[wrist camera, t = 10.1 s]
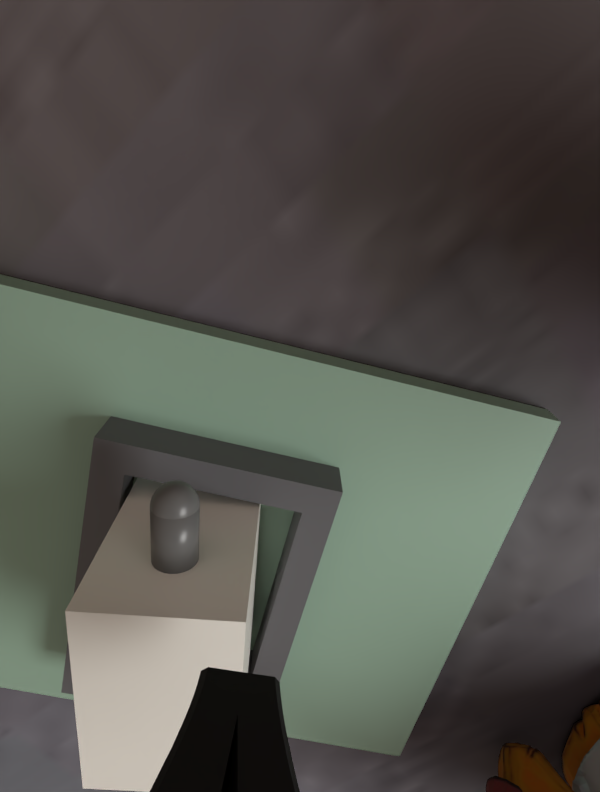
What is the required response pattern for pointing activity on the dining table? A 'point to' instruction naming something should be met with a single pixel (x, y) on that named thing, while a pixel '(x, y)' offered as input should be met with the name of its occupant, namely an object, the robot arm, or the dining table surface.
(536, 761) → the mug
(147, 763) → the plug
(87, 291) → the dining table surface
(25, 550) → the board
